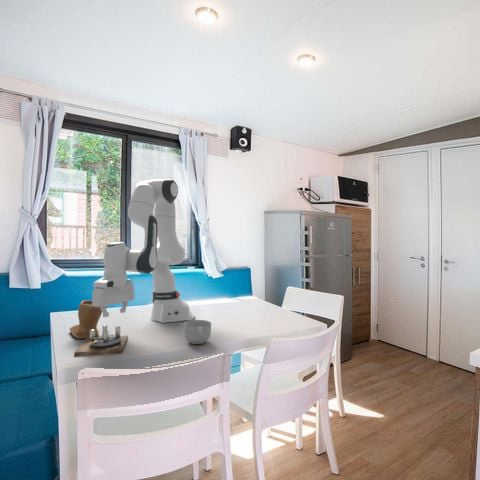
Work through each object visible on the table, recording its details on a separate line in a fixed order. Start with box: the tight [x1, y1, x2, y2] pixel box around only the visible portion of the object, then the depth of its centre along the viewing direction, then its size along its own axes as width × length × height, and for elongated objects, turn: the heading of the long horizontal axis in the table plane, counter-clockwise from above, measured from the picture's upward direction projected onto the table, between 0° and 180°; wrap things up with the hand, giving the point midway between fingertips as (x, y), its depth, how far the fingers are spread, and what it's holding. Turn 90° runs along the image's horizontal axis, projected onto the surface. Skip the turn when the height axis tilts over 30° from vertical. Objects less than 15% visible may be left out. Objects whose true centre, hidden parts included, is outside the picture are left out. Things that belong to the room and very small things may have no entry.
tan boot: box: [69, 299, 103, 339], centre depth 142 cm, size 15×12×15 cm
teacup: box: [183, 319, 212, 345], centre depth 131 cm, size 14×11×8 cm
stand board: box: [73, 334, 129, 357], centre depth 126 cm, size 16×17×2 cm
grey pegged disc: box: [89, 324, 121, 348], centre depth 125 cm, size 11×11×6 cm
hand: (114, 314), depth 136 cm, fingers open, 8 cm apart
